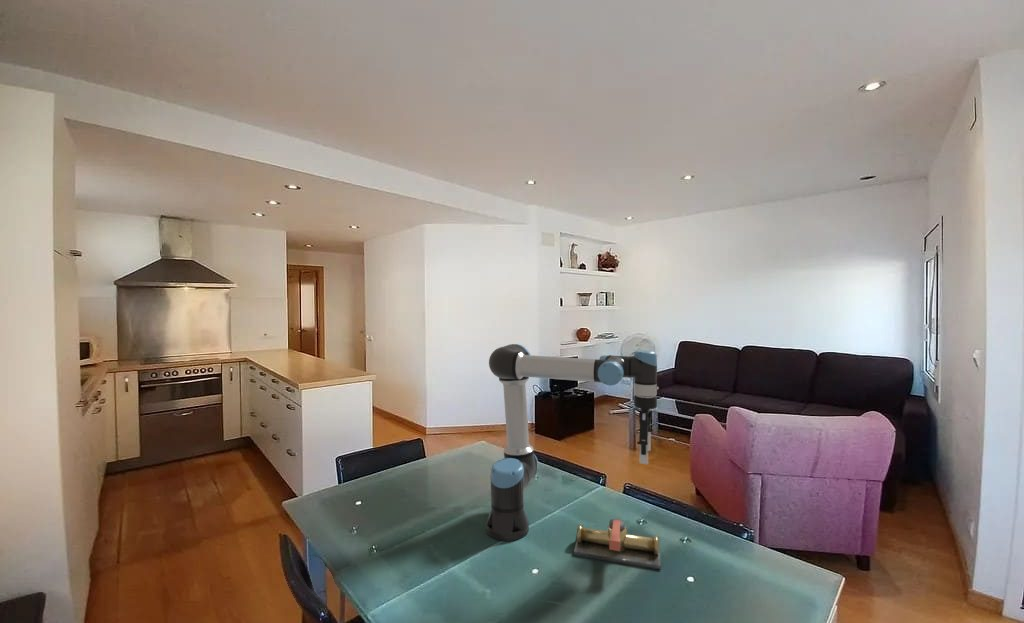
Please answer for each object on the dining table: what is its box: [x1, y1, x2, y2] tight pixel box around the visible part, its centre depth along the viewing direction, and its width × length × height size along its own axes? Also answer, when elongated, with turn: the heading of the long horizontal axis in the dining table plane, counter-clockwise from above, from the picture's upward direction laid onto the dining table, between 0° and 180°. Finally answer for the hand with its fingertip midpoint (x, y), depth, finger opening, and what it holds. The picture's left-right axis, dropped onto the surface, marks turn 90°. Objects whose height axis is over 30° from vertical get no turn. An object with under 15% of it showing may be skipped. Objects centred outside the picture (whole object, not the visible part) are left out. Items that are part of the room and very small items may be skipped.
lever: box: [608, 518, 626, 551], centre depth 128 cm, size 5×16×3 cm, turn 163°
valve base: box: [573, 524, 662, 571], centre depth 133 cm, size 26×14×7 cm, turn 73°
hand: (645, 456), depth 142 cm, fingers open, 13 cm apart
